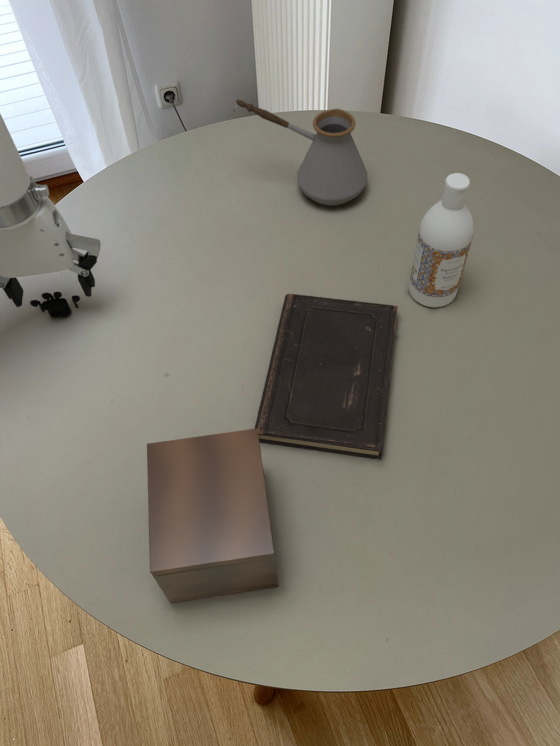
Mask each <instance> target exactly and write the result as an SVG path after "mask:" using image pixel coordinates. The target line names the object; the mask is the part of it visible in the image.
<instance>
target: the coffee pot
mask: <svg viewBox="0 0 560 746" xmlns="http://www.w3.org/2000/svg"><path fill="white" fill-rule="evenodd" d="M238 106H239V107H241V108H244V109H247V112H249V113H250V112H252V113H254V114H255V115H257V116H259V118H261V119H263V120H265V121H268V122H271V123H273V124H276V125H278V126H280V127H282V128H286V129H289V130H291V131H292V132H295V133H297V134H299V135H300V136H303V137H305V138H307V139H309V140H311V141H312V142H311V144H310V145H309V148H308V150H307V152H306V154H305V155H304V158H303V160H302V162H301V163H300V166H299V168H298V170H297V175H296V180H297V184H298V186H299V188H300V190H301V191H302V192H303V194H304V195H305V196H306V197H308V198H309V199H311V200H312V201H314V202H316V203H318V204H320V205H324V206H331V207H332V206H333V207H334V206H335V207H336V206H341V205H344V204H346V203H348V202H350V201H352V200H353V199H354V198H357V197H358V196H359V195H360V194H361V193H362V192H363V190H364V189H365V187H366V185H367V183H368V175H369V174H368V171H367V169H366V166H365V164H364V161H363V159H362V157H361V155H360V152H359V150H358V147H357V145H356V143H355V141H354V138H353V136H352V132H353V131H354V129H355V128H356V122H357V121H356V119H355V117H354V116H353V115H352V114H350V112H347V111H345V110H343V109H341V108H333V109H332V108H331V109H328V110H324V111H321V112H320V113H318V114H316V115H315V116H314V118H313V120H312V127H313V130H315V132H316V134H315V133H312V131H311V132H310V131H308V130H307V129H304V128H302V127H299V126H296V125H294V124H293V123H290V122H288V121H287V120H285V119H284V118H282V117H279V116H278V115H276V114H274V113H272V112H270V111H268V110H266V109H263V108H259V107H257V106H254V104H253V103H247V102H246V101H244V100H241V99H236V101H235V105H234V108H233V111H232V112H233V113H235V111H236V110H237V107H238Z"/></svg>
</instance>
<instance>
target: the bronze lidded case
mask: <svg viewBox="0 0 560 746" xmlns="http://www.w3.org/2000/svg"><path fill="white" fill-rule="evenodd" d="M260 443H261V442H259V436H258V429H257V428H256V429H254V428H250V429H242V430H235V431H229V432H228V431H227V432H221V433H213V434H207V435H201V436H199V435H198V436H192V437H185V438H177V439H171V440H164V441H157V442H150V443H146V463H147V468H146V469H147V501H148V502H147V504H148V505H147V506H148V538H149V539H148V541H149V572H150V575H152V577H153V579H154V580H155V582H156V584H157V585H158V586H159V588H160V589H161V591H162V593H163V594H164V595H165V598H166V599H167V600H168V602H169V603H170V604H173V603H181V602H187V601H195V600H200V599H201V600H202V599H206V598H207V599H208V598H214V597H221V596H227V595H234V594H241V593H247V592H253V591H254V592H255V591H260V590H266V589H274V588H279V577H278V570H277V568H278V567H277V562H276V553H275V546H274V539H273V531H272V525H271V524H272V523H271V517H270V509H269V502H268V494H267V487H266V481H265V472H264V465H263V459H262V458H263V457H262V453H261V452H262V451H261V444H260Z"/></svg>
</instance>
